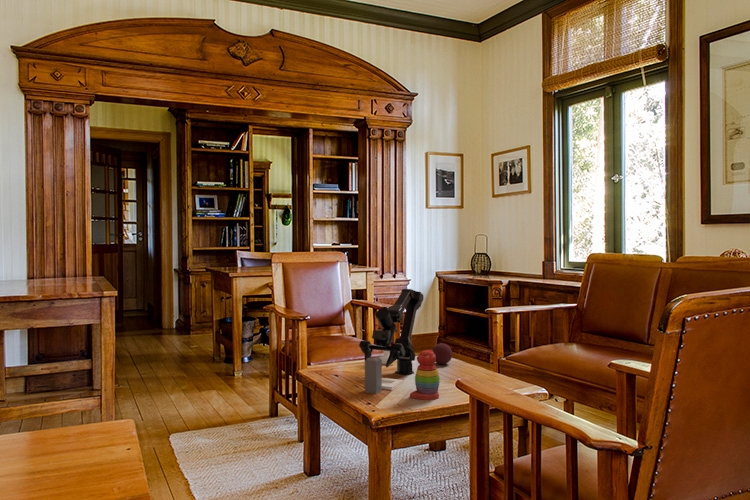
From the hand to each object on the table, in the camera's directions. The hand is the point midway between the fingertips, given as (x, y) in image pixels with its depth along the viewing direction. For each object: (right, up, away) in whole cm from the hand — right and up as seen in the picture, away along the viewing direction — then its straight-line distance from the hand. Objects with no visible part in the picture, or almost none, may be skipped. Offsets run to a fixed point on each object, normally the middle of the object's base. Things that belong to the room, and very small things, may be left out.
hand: (375, 365), depth 218 cm
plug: (-1, -10, -2) cm, 10 cm away
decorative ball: (+32, -9, +46) cm, 57 cm away
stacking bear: (+19, -10, -9) cm, 23 cm away
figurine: (+5, -9, +48) cm, 49 cm away
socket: (+4, -10, +8) cm, 13 cm away
